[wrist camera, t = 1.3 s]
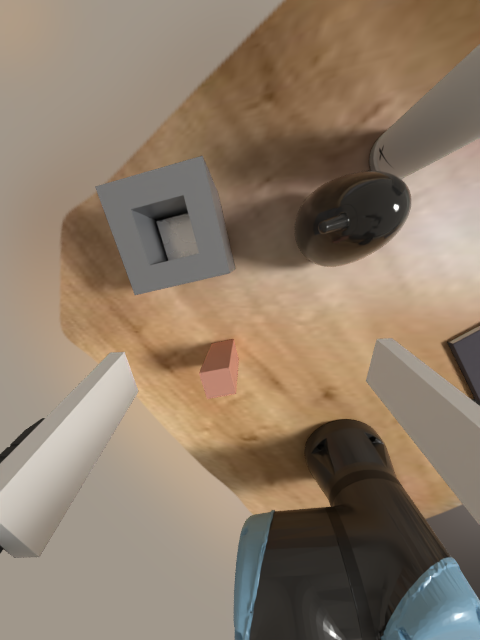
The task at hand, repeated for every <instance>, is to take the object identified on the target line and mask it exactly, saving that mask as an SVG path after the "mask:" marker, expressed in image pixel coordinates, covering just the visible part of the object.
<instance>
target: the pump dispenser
mask: <svg viewBox="0 0 480 640" xmlns="http://www.w3.org/2000/svg"><path fill="white" fill-rule="evenodd" d="M410 209H411V194H410V191H409V189H408V187H407V185H406V184H405V183H404V182H403V181H402V180H401V179H400V178H399V177H397V176H395V175H393V174H390V173H387V172H382V171H363V172H357V173H352V174H348V175H344V176H341V177H338V178H336V179H334V180H331V181H329V182H327V183H325V184H323V185H322V186H320V187H319V188H317V189H316V190H315V191H314V192H312V193H311V194H310V195H309V196H308V197H307V199H306V200H305V201H304V203H303V204H302V206H301V207H300V209H299V212H298V214H297V217H296V222H295V238H296V242H297V245H298V247H299V249H300V251H301V252H302V254H303V255H304V256H305V257H306V258H307V259H308V260H310V261H311V262H313V263H315V264H317V265H320V266H326V267H336V266H342V265H346V264H349V263H353V262H355V261H358V260H360V259H362V258H365V257H366V256H368V255H370V254H372V253H374V252H375V251H377V250H379V249H380V248H381V247H383V246H384V245H386V244H387V243H388V242H389V241H390V240H391V239H392V238H393V237H394V236H395V235H396V234H397V233H398V232H399V231H400V229H401V228H402V227H403V225H404V223H405V222H406V220H407V218H408V215H409V212H410Z"/></svg>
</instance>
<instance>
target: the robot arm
mask: <svg viewBox="0 0 480 640" xmlns="http://www.w3.org/2000/svg"><path fill="white" fill-rule="evenodd" d="M366 382H367V383H368V384H369V385H370V387H371V388H372V389H373V391H374V392H375V393H376V394H377V396H378V397H379V398H380V399H381V401H382V402H383V403H384V404H385V406H386V407H387V408H388V410H389V411H390V412H391V413H392V415H393V416H394V417H395V418H396V420H397V421H398V422H399V424H400V425H401V426H402V427H403V429H404V430H405V431H406V432H407V434H408V435H409V436H410V437H411V439H412V440H413V441H414V443H415V444H416V445H417V446H418V448H419V449H420V450H421V451H422V453H423V454H424V455H425V457H426V458H427V459H428V460H429V462H430V463H431V464H432V465H433V467H434V468H435V469H436V470H437V472H438V473H439V474H440V476H441V477H442V478H443V479H444V481H445V482H446V483H447V484H448V486H449V487H450V488H451V490H452V491H453V492H454V493H455V495H456V496H457V497H458V498H459V500H460V501H461V502H462V503H463V505H464V506H465V507H466V508H467V510H468V511H469V512H470V514H471V515H472V516H473V517H474V519H475V520H476V521H477V522H478V524H479V525H480V401H478V400H476V399H470V398H469V397H467V396H466V395H465V394H464V393H462V392H461V391H460V390H458V389H457V388H456V387H454V386H453V385H452V384H451V383H449V382H448V381H447V380H445V379H444V378H443V377H441V376H440V375H439V374H438V373H436V372H435V371H434V370H432V369H431V368H430V367H428V366H427V365H426V364H425V363H423V362H422V361H421V360H419V359H418V358H417V357H416V356H414V355H413V354H412V353H410V352H409V351H408V350H406V349H405V348H404V347H403V346H401V345H400V344H399V343H397V342H396V341H395V340H393V339H392V338H388V339H377V340H376V344H375V348H374V351H373V355H372V359H371V363H370V367H369V371H368V375H367V379H366ZM137 393H138V389H137V386H136V383H135V380H134V377H133V375H132V372H131V369H130V366H129V363H128V361H127V358H126V355H125V352H115V353H109V354H108V355H107V356H106V357H105V358H104V359H103V360H102V362H101V363H100V364H99V365H98V366H97V367H96V368H95V369H94V370H93V371H92V372H91V373H90V374H89V375H88V376H87V377H86V378H85V379H84V380H83V381H82V382H81V383H80V384H79V385H78V386H77V387H76V388H75V389H74V390H73V391H72V392H71V393H70V394H69V395H68V396H67V397H66V398H65V399H64V400H63V401H62V402H61V403H60V404H59V405H58V406H57V407H56V408H55V409H54V410H53V411H52V412H51V413H50V414H49V415H48V416H47V417H46V418H42V419H41V420H39V421H38V422H36V423H35V424H33V425H32V426H30V427H29V428H28V429H26V430H25V431H24V432H23V433H22V434H21V435H20V436H19V437H18V438H17V439H16V440H15V441H14V442H13V443H12V444H11V446H10V447H7V448H6V449H5V450H4V451H3V452H2V453H1V454H0V553H1V552H2V550H3V549H4V550H5V551H7V552H8V553H9V554H10V555H12V556H13V557H14V558H16V557H17V558H19V557H39V556H40V555H41V553H42V552H43V550H44V548H45V546H46V545H47V543H48V542H49V540H50V538H51V537H52V535H53V533H54V532H55V530H56V528H57V527H58V525H59V523H60V522H61V520H62V518H63V517H64V515H65V513H66V512H67V510H68V508H69V507H70V505H71V503H72V502H73V500H74V498H75V497H76V495H77V493H78V491H79V490H80V488H81V487H82V485H83V483H84V482H85V480H86V478H87V477H88V475H89V473H90V471H91V470H92V468H93V466H94V464H95V463H96V462H97V460H98V458H99V456H100V455H101V453H102V451H103V450H104V448H105V446H106V445H107V443H108V441H109V440H110V438H111V436H112V435H113V433H114V431H115V430H116V428H117V426H118V425H119V423H120V421H121V420H122V418H123V416H124V415H125V413H126V411H127V410H128V408H129V406H130V405H131V403H132V401H133V400H134V398H135V396H136V395H137ZM305 459H306V462H307V465H308V468H309V471H310V473H311V474H312V476H313V477H314V479H315V480H316V482H317V483H318V485H319V486H320V488H321V489H322V491H323V492H324V494H325V495H326V497H327V498H328V500H329V502H330V505H331V507H321V508H310V509H299V510H287V511H276V512H275V510H272V511H271V512H268V513H262V514H256V515H252V516H250V517H249V518H248V519H247V520H246V521H245V523H244V525H243V528H242V531H241V535H240V540H239V546H238V553H237V562H236V573H235V588H234V627H235V640H480V601H479V599H478V598H477V596H476V594H475V593H474V591H473V590H472V588H471V586H470V585H469V583H468V582H467V580H466V579H465V577H464V575H463V574H462V572H461V571H460V567H459V565H458V564H457V562H456V561H455V560H454V559H453V558H452V557H451V556H450V554H449V553H448V551H447V550H446V548H445V547H444V546H443V544H442V543H441V541H440V540H439V538H438V537H437V536H436V534H435V533H434V531H433V530H432V528H431V527H430V525H429V524H428V523H427V521H426V520H425V518H424V517H423V515H422V514H421V513H420V511H419V510H418V508H417V507H416V505H415V504H414V503H413V501H412V500H411V498H410V497H409V495H408V494H407V492H406V491H405V490H404V488H403V487H402V485H401V484H400V482H399V481H398V479H397V478H396V475H395V472H394V469H393V466H392V463H391V460H390V457H389V454H388V451H387V448H386V446H385V444H384V442H383V441H382V439H381V438H380V437H379V435H378V434H377V433H376V431H375V430H374V429H373V428H371V427H370V426H368V425H367V424H365V423H362V422H359V421H355V420H338V421H333V422H330V423H327V424H325V425H323V426H321V427H320V428H318V429H317V430H316V431H315V432H314V433H313V434H312V435H311V436H310V437H309V439H308V441H307V443H306V445H305Z"/></svg>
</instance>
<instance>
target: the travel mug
mask: <svg viewBox="0 0 480 640" xmlns="http://www.w3.org/2000/svg"><path fill="white" fill-rule="evenodd" d="M479 138H480V44H479V45H478V46H477V47H476V48H475V49H474V50H473V51H472V52H471V53H470V54H468V55H467V56H466V57H465V58H464V59H463V60H462V61H461V62H460V63H459V64H458V65H457V66H456V67H454V68H453V69H452V70H451V71H450V72H449V73H448V74H447V75H446V76H445V77H444V78H443V79H442V80H440V81H439V82H438V83H437V84H436V85H435V86H434V87H433V88H432V89H431V90H430V91H429V92H428V93H426V94H425V95H424V96H423V97H422V98H421V99H420V100H419V101H418V102H417V103H416V104H415V105H414V106H412V107H411V108H410V109H409V110H408V111H407V112H406V113H405V114H404V115H403V116H402V117H401V118H400V119H398V120H397V121H396V122H395V123H394V124H393V125H392V126H391V127H390V128H389V129H388V130H387V131H386V132H384V133H383V134H382V135H381V136H380V137H379V138H378V139H377V141H376V142H375V144H374V145H373V147H372V150H371V153H370V159H369V164H370V169H371V171H382V172H387V173H390V174H393V175H395V176H397V177H399V178H400V179H403V178H405V177H406V176H408V175H410V174H412V173H414V172H416V171H418V170H420V169H422V168H424V167H426V166H428V165H429V164H431V163H433V162H435V161H437V160H439V159H441V158H443V157H445V156H447V155H449V154H450V153H452V152H454V151H456V150H458V149H460V148H462V147H464V146H466V145H468V144H470V143H471V142H473V141H475V140H477V139H479Z"/></svg>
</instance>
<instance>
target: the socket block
mask: <svg viewBox="0 0 480 640" xmlns="http://www.w3.org/2000/svg"><path fill="white" fill-rule="evenodd" d="M96 190H97V193H98V195H99V198H100V201H101V204H102V206H103V209H104V212H105V215H106V217H107V220H108V223H109V226H110V228H111V231H112V234H113V236H114V239H115V242H116V245H117V247H118V250H119V253H120V256H121V258H122V261H123V264H124V267H125V269H126V272H127V275H128V277H129V280H130V283H131V286H132V288H133V291H134V294H135V295H138V294H142V293H147V292H151V291H155V290H160V289H164V288H168V287H173V286H177V285H181V284H185V283H190V282H194V281H198V280H203V279H207V278H211V277H216V276H220V275H224V274H229V273H231V272H232V271H233V270H235V265H234V261H233V256H232V252H231V247H230V243H229V238H228V234H227V230H226V225H225V221H224V216H223V212H222V208H221V203H220V199H219V194H218V191H217V189H216V186H215V184H214V182H213V179H212V177H211V175H210V172H209V170H208V168H207V165H206V163H205V161H204V158H203V156H200V157H196V158H193V159H190V160H186V161H183V162H179V163H176V164H172V165H169V166H165V167H162V168H158V169H155V170H151V171H148V172H144V173H141V174H138V175H134V176H131V177H127V178H124V179H120V180H117V181H113V182H110V183H106V184H103V185H99V186H96ZM187 213H188V214H189V218H190V221H191V225H192V229H193V233H194V236H195V240H196V244H197V247H198V251H199V253H198V254H194V255H190V256H186V257H182V258H178V259H174V260H170V261H168V257H167V254H166V251H165V248H164V244H163V241H162V238H161V235H160V231H159V228H158V225H157V222H156V221H160V220H164V219H168V218H172V217H175V216H179V215H183V214H187Z"/></svg>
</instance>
